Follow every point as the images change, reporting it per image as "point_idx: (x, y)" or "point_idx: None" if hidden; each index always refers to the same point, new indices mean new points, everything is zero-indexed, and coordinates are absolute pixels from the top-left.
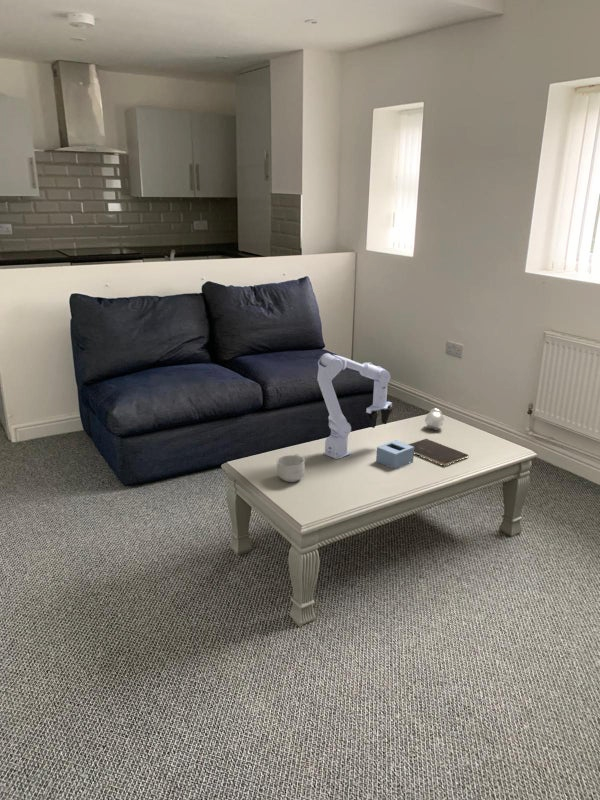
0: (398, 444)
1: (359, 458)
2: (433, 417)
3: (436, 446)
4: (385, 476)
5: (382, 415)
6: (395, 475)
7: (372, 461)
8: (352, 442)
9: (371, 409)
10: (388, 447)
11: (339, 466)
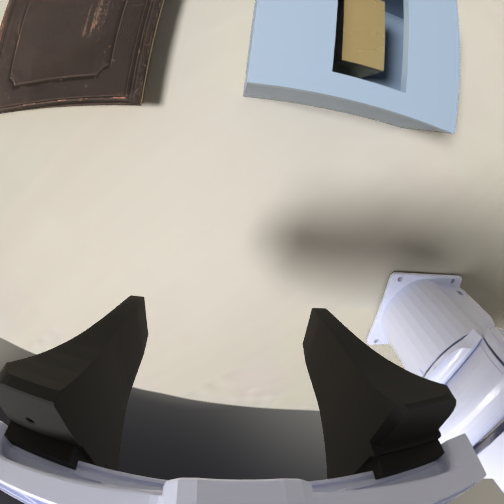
0: (318, 19)
1: (414, 214)
2: None
3: (32, 7)
4: (477, 36)
5: (124, 390)
6: None
7: (411, 143)
8: (263, 350)
9: (468, 477)
10: (418, 60)
11: (497, 227)
